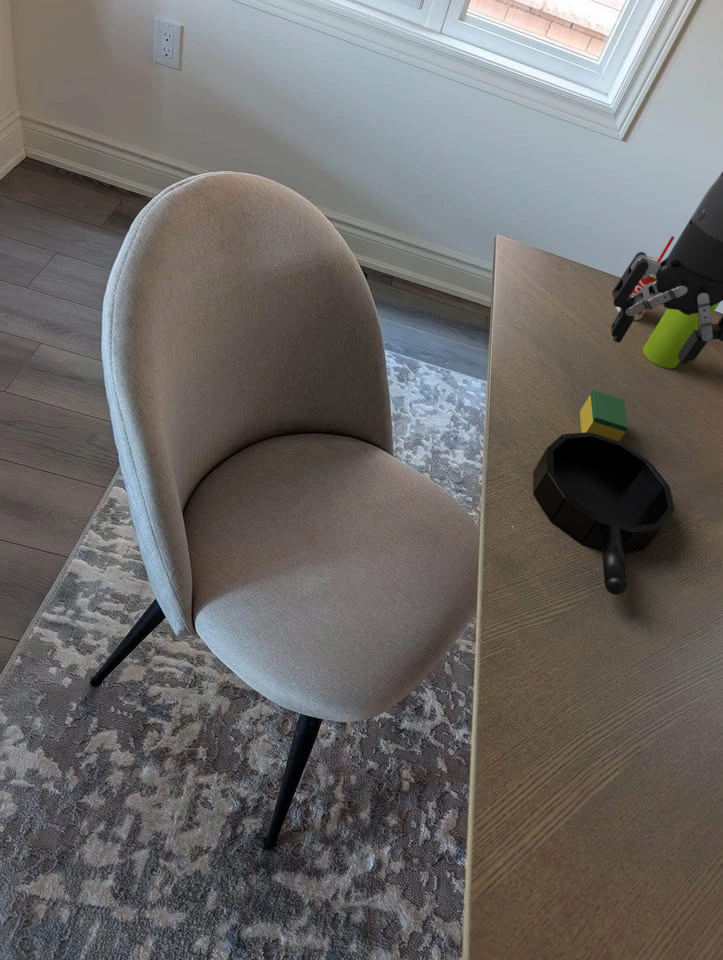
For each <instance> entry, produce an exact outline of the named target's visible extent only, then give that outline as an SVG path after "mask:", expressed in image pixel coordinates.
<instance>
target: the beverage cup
mask: <svg viewBox="0 0 723 960" xmlns="http://www.w3.org/2000/svg"><path fill="white" fill-rule="evenodd" d="M674 239H675V236H673V235H671V237H670V238H669V240H668V242H667V244H666V245H665V247H664V248H663V250H662V252H661V253H660V255H659V257H655V256H653V255H650V254H646V256H647V258H649V259H651V260H654V261H656V262H659V263H661V262H662V261H664V260H662V259H663V258H664V257H665V254H666V252H667V251H668V249H669V248H670V246H671V244H672V242H673V241H674ZM656 280H657V279H656V273H653V274H650V275H649V276H648V277H647V278H646V279H641V280H640V281H639V283H638V284H637V286H636V287H635V289H634V290H633V292H632V293H631V295H633V294H635V293H637V292H639V291H640V290H641V289H642V288H643V287H644V286H646V285H648V284H650V283H652V282H654V281H656ZM656 294H658V292H657V293H655V294H654V295H656ZM631 295H630V296H631ZM654 295H653V296H654ZM615 308H616V310H617V312H618V313H619V312H620V310H621V308H620V307H616V306H615ZM647 310H648V309H646V310H644V311H642V312H640V313H638V314H636V315H634V318H635V319H634V321H638V320H641V319H642V318H643V316H644V315H645V314H646V312H647Z"/></svg>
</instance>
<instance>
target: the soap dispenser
mask: <svg viewBox="0 0 723 960" xmlns="http://www.w3.org/2000/svg"><path fill="white" fill-rule="evenodd" d="M720 304H721V302H719V303H717V304H715V305H713V306H711V307H710V312H711V316H712V315H713V314H714V312H715V311H716V310H717V308H718V306H719V305H720ZM698 329H699V327H698V320H697V314H696V313H695V314H690V316H689V315H686V314H683V313H682V312H681V311H679V310H674V309H668V308H666V311H665V312H664V313H663V315H662V317H661V318H660V320H659V322H658V323H657V324H656V326H655V328H654V329H653V331H652V333H651V334H650V336H649V337H648V339H647V341H646V342H645V344H644V345H643V347H642V353H643V356H645V358H646V359H647V360H649V361H650V362H651V363H652V364H655V365H656V366H658V367H660V368H664V369H674V368H677V367H678V365H679V363H680V361H679V357H678V354H679V351H680V350H681V348H682V347H683V346H684V344H685V343H686V341H687V340H688V338H689V337H690V335H691V334H692V332H693V331H694V330H698Z"/></svg>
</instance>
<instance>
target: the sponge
mask: <svg viewBox="0 0 723 960" xmlns="http://www.w3.org/2000/svg"><path fill="white" fill-rule="evenodd" d="M579 419H580V420H579V421H580V433H586V432H589V433H594V434H597V435H600V436H603V437H606V438H610V439H613V440H616V441H619V442H621V439H622V438H623V436H624V435H625V434H626V432H627V430H628V429H629V423H628V416H627V409H626V403H625V399H623V398H620V397H616V396H614V395H610V394H607V393H604V392H602V391H598V390H595V389H592V391H591V392H590V394H589V396H588V397H587V399H586V401H585V402H584V404H583V405H582V407H581V409H580V410H579Z"/></svg>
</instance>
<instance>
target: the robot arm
mask: <svg viewBox="0 0 723 960" xmlns="http://www.w3.org/2000/svg"><path fill="white" fill-rule="evenodd" d="M646 255H647V254H646V252H644V251H639V252H637V253H636V254H635V256H633V258H632V260H631V262H630V263H629V265H628V266H627V268H626V269H625V270H624V273H623V274H622V275H621V277H620V279H619V280H618V281H617V282H616V285H615V286H614V288H613V290H612V291H611V293H612V297H613V306H614V307H615V308H616V307H620V308H621V310H620V312H618V314H617V315H616V316H615V319H614V320H613V322H612V323H611V326H610V333H611V336H612V341H613V342H615V343H622V341H623V338H624V337H625V335H626V333H627V332H628V331H629V329H630V327H631V325H633V322H634V321H635V320H634V319H635V318H634V315H636V314H638V313H640V312H642V311H644V310H646V309H647V310H653V309H655V308H658V307H659V306H661V305H663V307H664V308H666V309H674V310H679V311H681V312H682V313H683V314H686V315H689V316H690V314H695V313H696V314H697V320H698V327H699V329H698V330H694V331H693V332H692V334H691V335H690V337H689V338H688V340H687V341H686V343H685V344H684V346H683V347H682V348H681V350H680V351H679V354H678V357H679V361H680V362H679V363H681V364H684V365H687V364H688V363H689V362H693V361H694V360H696V359H697V358H698V356H699V354H700V353H701V351H702V350H703V349H704V347H705V346H706V345H707V343H708V342H709V341H712V340H720V342H723V314H722V315H721V317H720V318H719V320H718V321H717V323H713V321H712V315H711V312H710V307H711V306H713V305H715V304H717V303H719V302H720V303H721V302H723V170H722V171H721V173H720V174H719V175H718V177H717V178H716V179H715V181H714V182H713V183H712V184H711V186H710V187H709V188H708V190H707V191H706V193H705V194H704V195H703V198H702V199H701V201H700V202H699V204H698V206H697V207H696V209H695V211H694V212H693V214H692V215H691V217H690V219H689V221H688V222H687V223H686V225H685V227H684V229H683V231H682V232H681V234H680V235H679V237H678V239H677V240H676V242H675V243H674V245H673V247H672V249H671V250H670V253H669V254H668V256H667V257H666V258H665V259H664V260H663V261H662V262H661V263H659V262H656V261H654V260H651V259H649V258H647V256H646ZM653 273H656V279H657V280H656V281H654V282H652V283H650V284H648V285H646V286H644V287H643V288H642V289H641V290H640V291H639V292H637V293H635V294H633V295H631V293H632V292H633V290H634V289H635V287H636V286H637V284H638V283H639V281H640V280H641V279H646V278H647V277H648V276H649V275H650V274H653ZM657 292H658V294H656V295H654V294H655V293H657ZM630 295H631V296H630ZM653 295H654V296H653ZM720 303H719V304H720ZM647 310H646V311H647Z"/></svg>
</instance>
